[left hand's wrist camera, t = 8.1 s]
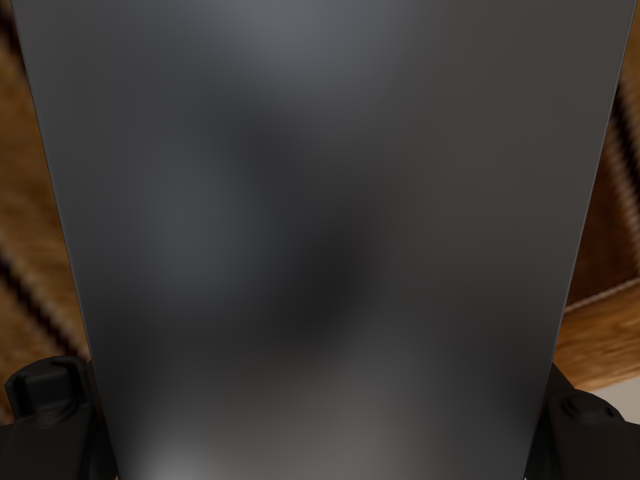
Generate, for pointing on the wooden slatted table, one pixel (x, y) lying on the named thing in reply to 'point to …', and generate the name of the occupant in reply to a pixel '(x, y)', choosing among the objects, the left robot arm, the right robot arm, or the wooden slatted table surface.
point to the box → (322, 222)
